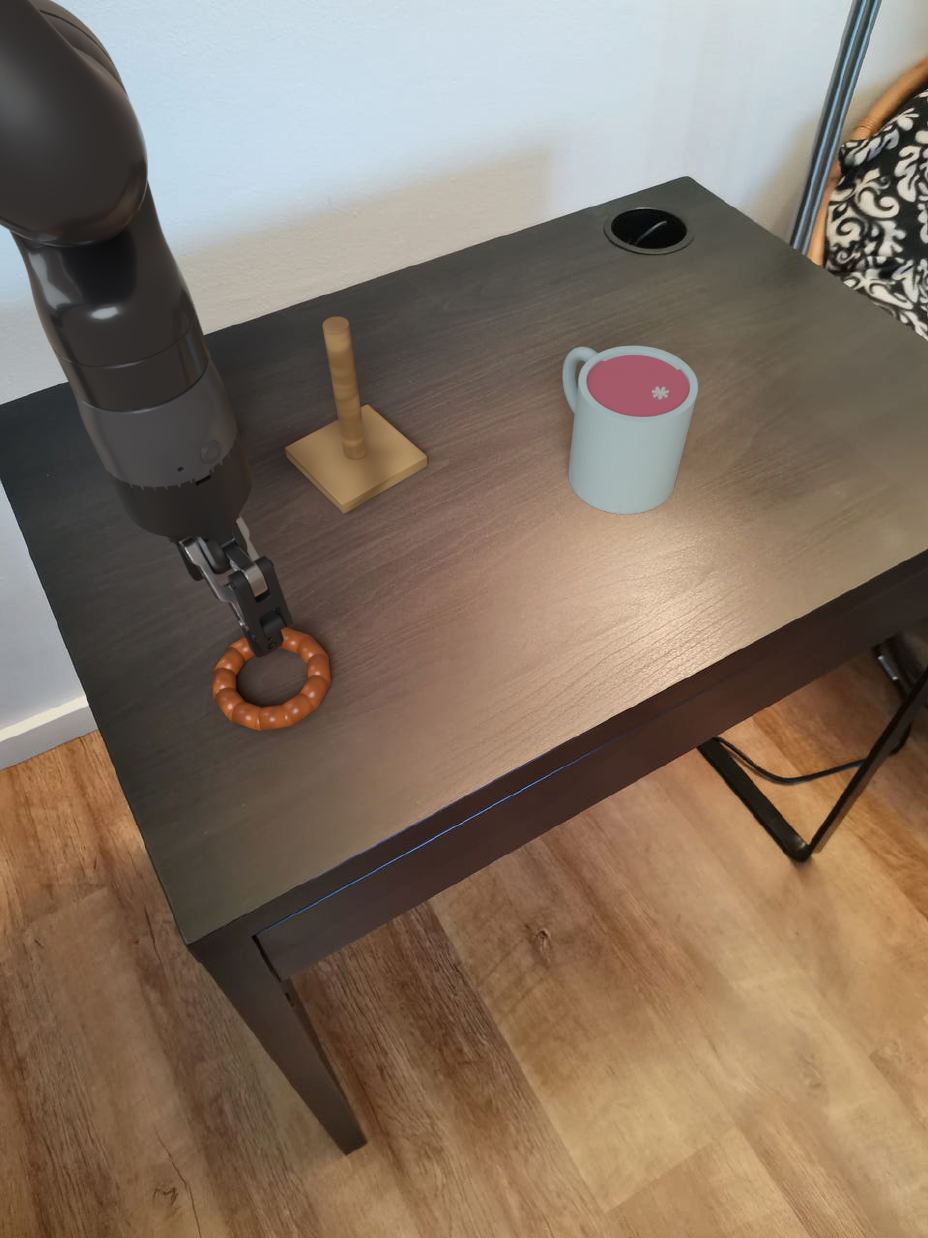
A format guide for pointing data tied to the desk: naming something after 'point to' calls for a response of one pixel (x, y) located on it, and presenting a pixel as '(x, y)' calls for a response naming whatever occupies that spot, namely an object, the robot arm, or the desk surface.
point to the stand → (352, 437)
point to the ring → (278, 714)
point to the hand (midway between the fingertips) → (236, 609)
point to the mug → (627, 425)
